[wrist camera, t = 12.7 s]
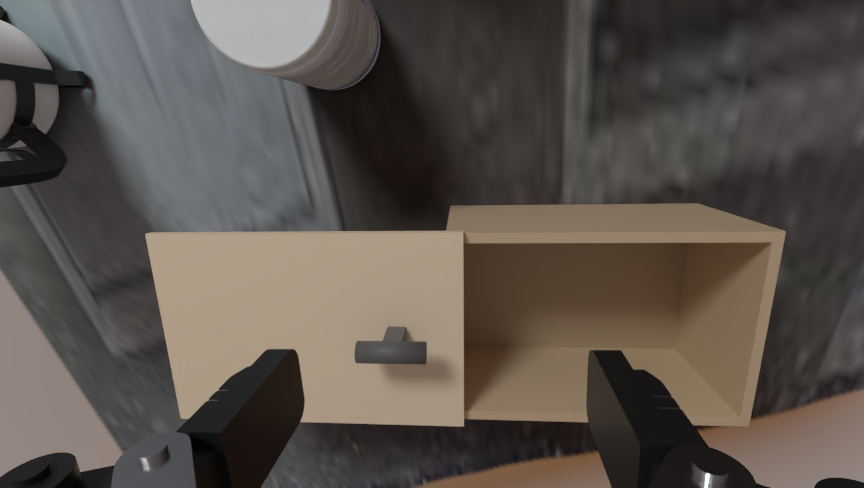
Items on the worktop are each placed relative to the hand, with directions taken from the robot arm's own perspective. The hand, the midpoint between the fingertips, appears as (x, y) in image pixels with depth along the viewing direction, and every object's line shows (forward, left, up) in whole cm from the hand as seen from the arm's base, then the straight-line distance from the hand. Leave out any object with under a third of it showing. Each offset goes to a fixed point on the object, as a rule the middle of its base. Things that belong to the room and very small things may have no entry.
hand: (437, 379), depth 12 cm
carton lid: (+12, +9, -21) cm, 26 cm away
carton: (-11, +9, -33) cm, 36 cm away
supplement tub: (+12, -15, -33) cm, 38 cm away
